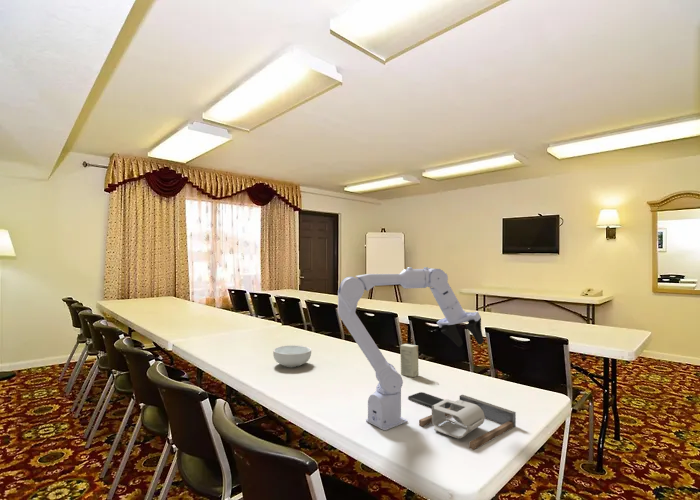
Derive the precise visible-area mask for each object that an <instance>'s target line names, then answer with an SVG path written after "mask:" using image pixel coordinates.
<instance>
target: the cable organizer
mask: <svg viewBox="0 0 700 500" xmlns="http://www.w3.org/2000/svg"><path fill="white" fill-rule="evenodd" d="M445 403H451V406H450V410H449V409H446V408H445ZM463 407H464V408H463ZM445 413H446V414H449V416H451V417H452V418H453V419H454V420H453V419H450V418H448V417H445ZM431 415H432V423H431V424H432V425H433V428H434V431H436V432H439V433H441V434H445V435H447V436H450V437H452V438H455V439H462V438H464V437H465V436H467V435H468V434H470V433H471V432H472V431H475V430H476V429H477V428H478V427H479V428H480V427H481V426H482V425H483V424H484V423H485V419H486V418H485V416H484V412H483V410H482V409H481V408H480V407H479V406H478V405H476V404H473V403H469V402H466V401H462V400H460V399H457V400H455V401H454V400H451V399H448V398H446V399H444V400H443V401H441V402H439V403H437V404H435V405H433V406H432V409H431ZM442 423H443V424H442Z"/></svg>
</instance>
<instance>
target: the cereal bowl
mask: <svg viewBox="0 0 700 500" xmlns="http://www.w3.org/2000/svg"><path fill="white" fill-rule="evenodd" d="M272 355H273V359H274V360H275V362H276V363H277V364H279V365H281V366H283V365H284V366H283V367H285V366H287V367H286V368H297V367H296V366H298V367H300V366H301V365H304V364H306V363H307V362H308V361H309V360H310V359H311V356H312V348H311V347H309V346H303V345H295V344H294V345H293V344H292V345H291V344H290V345H282V346H277V347H276V348H274V349H273V353H272ZM299 365H300V366H299Z"/></svg>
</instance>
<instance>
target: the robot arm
mask: <svg viewBox="0 0 700 500" xmlns="http://www.w3.org/2000/svg"><path fill="white" fill-rule="evenodd" d="M448 281H449V276H448V273H447V272H445V271H444V270H443V269H441V268H433V267H432V268H431V267H428V266H427V267H423V268H413V267H411V266H409V267H407V268H405V269H402V271H400V273H365V274H358V275H355V276H347V277H345V278H343V279H342V280H341V282H340V284H339V287H338V290H337V314H338V317H339V318H340V320H341V322H342V323H343V325H344V327H346V329H347V331H348V332H349V333H350V334H351V337H352V338H353V340H354V341H355V343H356V344H357V346H358V347H359V348H360V350H361V352H362V353H363V354H364V356H365V358H366V359H367V361H368V362H369V364H370V366H371V367H372V368H373V371H374V372H375V377H376V380H377V381H378V383H377V385H376V389H375V392H374V393H372V394H370V395H369V397H368V400H367V418H366V419H365V421H366V422H367V423H369V424H371V425H373V426H375V427H377V428H379V429H380V430H381V431H387V430H390V429H393V428H394V427H397V426H399V425H402V424H405V423H408V419H407V418H404V417H402V387H403V383H404V380H403V377H402V375H401V373H399V372H398V371H397V370H396V367H395V366H394V365H393V364H391V363H390V362H388V360H387V359H386V358H385V356H384V355H383V353H382V352H381V350H380V349H379V347H378V346H377V344H376V343H375V341H374V339H373V338H372V336H371V335H370V333H369V332H368V330H367V329H366V327H365V325H364V324H363V322H362V321H361V319H360V318H359V316H358V314H357V313H356V311H357V307H358V303H359V302H360V299H362V297H363V296H364V293H365V291H367V292H368V291H370V290H371V289H373V288H374V287H377V286H379V287H380V286H391V285H392V286H393V285H400V286H401V287H402V288H403V289H407V290H408V289H425V288H429V290H430V291H431V294H432V296H433V298H434V300H435V301H436V303H437V305H438V306H439V308H440V310H441V312H442V314H443V316H444V318H443V317H442V318H441V319H439V320H438V321H436V324H437V326H438V327H439V328H441V330H440V331H441V333H442V334H444V335H445V336H446V337H448V338H449V339H450V341H452V342H453V343H454V344H455V345H456V346H457V347H458V348H461V346H462V345H463V344H464V343H463V339H462V337H461V335H460V333H459V331H458V328H457V324H463V323H467V324H466V325H465V328H466V329H467V330H468V331H469V332H470V333H471V334H472V336H473V338H474V339H475V341H476V343H477V344H478V345H483V343H484V342H485V340H484V337H483V333H482V331H483V330H482V316H481V315H480V313H479V311H474V312H471V311H469V312H467V311H466V310H464V309H463V307H462V305H461V303H460V302H459V299H458V298H457V296H456V294H455V293H454V291H453V289H452V287H451V286H450V284H449V282H448Z"/></svg>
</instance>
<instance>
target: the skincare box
mask: <svg viewBox="0 0 700 500" xmlns="http://www.w3.org/2000/svg"><path fill="white" fill-rule="evenodd" d="M399 350H400V375H401V376H406V377H410V378H415V377H417V376H419V374H420V373H419V345H416V344H411V343H403V344H400V347H399Z"/></svg>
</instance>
